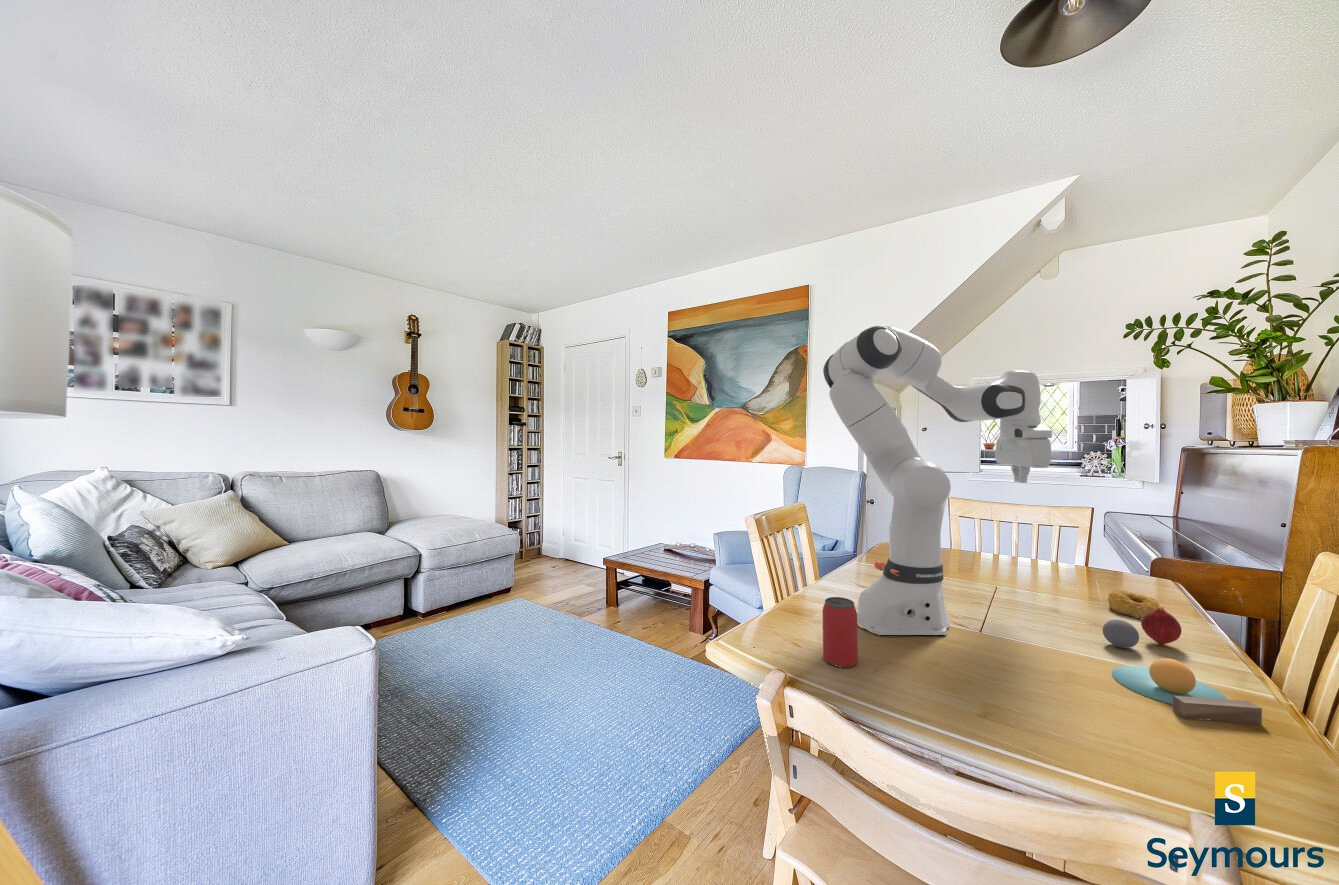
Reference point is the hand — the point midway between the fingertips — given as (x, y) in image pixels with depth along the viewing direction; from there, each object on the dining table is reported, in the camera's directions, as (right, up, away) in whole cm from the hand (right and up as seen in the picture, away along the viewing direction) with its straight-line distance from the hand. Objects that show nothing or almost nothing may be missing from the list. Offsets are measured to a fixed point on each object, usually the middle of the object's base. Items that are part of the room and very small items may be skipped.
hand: (1020, 482), depth 127 cm
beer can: (-61, -33, -33) cm, 77 cm away
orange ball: (-8, -29, -46) cm, 55 cm away
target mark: (-8, -32, -45) cm, 56 cm away
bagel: (+20, -31, -12) cm, 39 cm away
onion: (+8, -32, -29) cm, 44 cm away
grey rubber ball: (-1, -29, -29) cm, 41 cm away
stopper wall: (-9, -32, -54) cm, 63 cm away
